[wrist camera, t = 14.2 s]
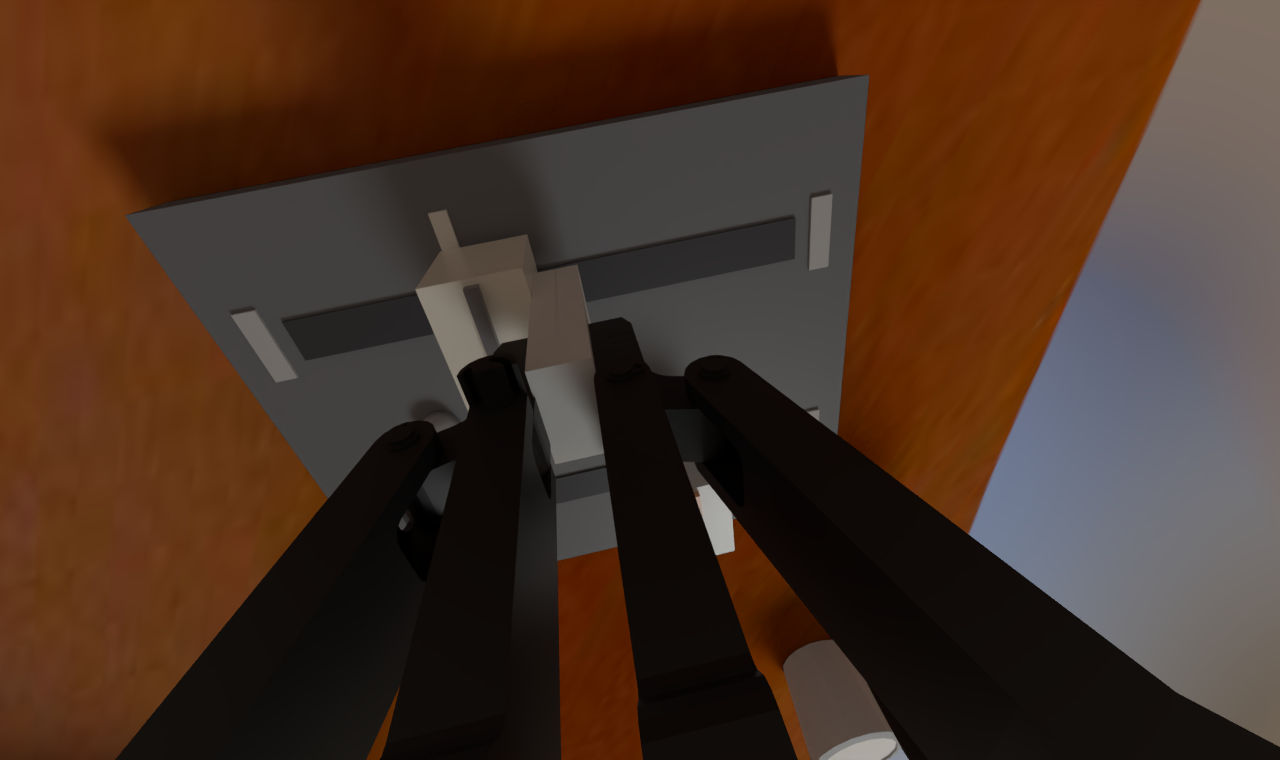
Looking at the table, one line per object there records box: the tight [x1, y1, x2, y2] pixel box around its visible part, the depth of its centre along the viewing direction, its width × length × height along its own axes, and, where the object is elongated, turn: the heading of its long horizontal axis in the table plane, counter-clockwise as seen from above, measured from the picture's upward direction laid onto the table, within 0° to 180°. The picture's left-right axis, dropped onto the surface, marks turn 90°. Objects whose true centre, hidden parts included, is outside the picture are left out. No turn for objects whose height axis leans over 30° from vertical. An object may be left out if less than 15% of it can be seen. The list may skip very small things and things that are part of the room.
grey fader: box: [683, 462, 735, 555], centre depth 22 cm, size 3×4×4 cm
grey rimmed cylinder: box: [783, 640, 901, 760], centre depth 37 cm, size 7×7×7 cm
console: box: [125, 75, 869, 561], centre depth 21 cm, size 24×20×3 cm
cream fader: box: [415, 234, 538, 410], centre depth 16 cm, size 3×4×4 cm
